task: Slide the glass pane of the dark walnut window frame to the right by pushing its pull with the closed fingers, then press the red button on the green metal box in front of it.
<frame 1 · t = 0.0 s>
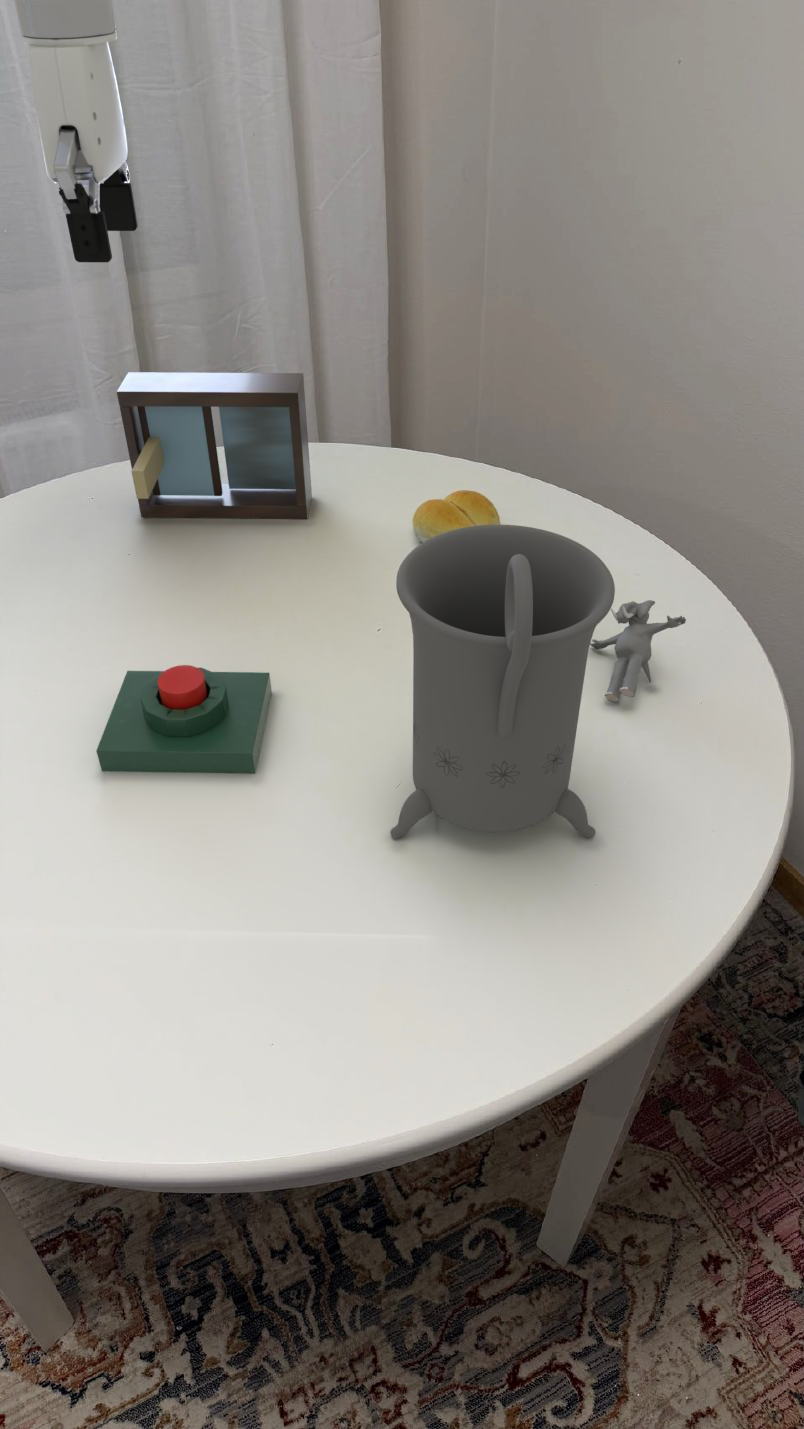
hand: (108, 245, 92), 27 cm above the table, tool pointing down, fingers open, 9 cm apart
mug: (489, 807, 75), on the table
button box: (190, 730, 82), on the table
window frame: (227, 507, 110), on the table
elephant figurine: (633, 677, 87), on the table
start button: (182, 687, 79), point 4 cm above the table, slide at 0.1 cm
bread roll: (456, 534, 106), on the table
window pane: (173, 466, 102), point 7 cm above the table, slide at 0.0 cm
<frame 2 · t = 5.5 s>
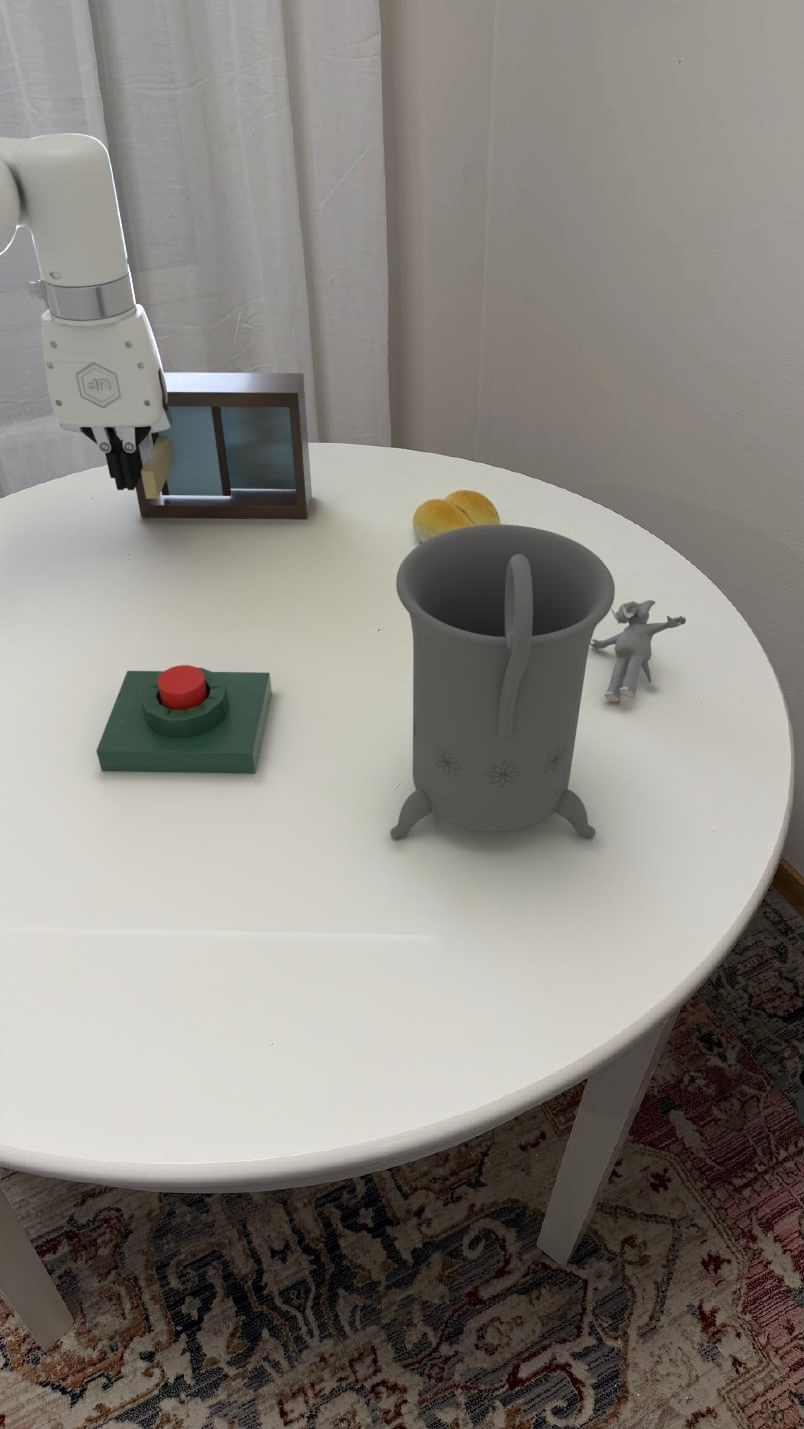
hand: (129, 483, 101), 6 cm above the table, tool pointing down, fingers closed
window pane: (182, 466, 102), point 7 cm above the table, slide at 0.9 cm, touching gripper
everything else where it was.
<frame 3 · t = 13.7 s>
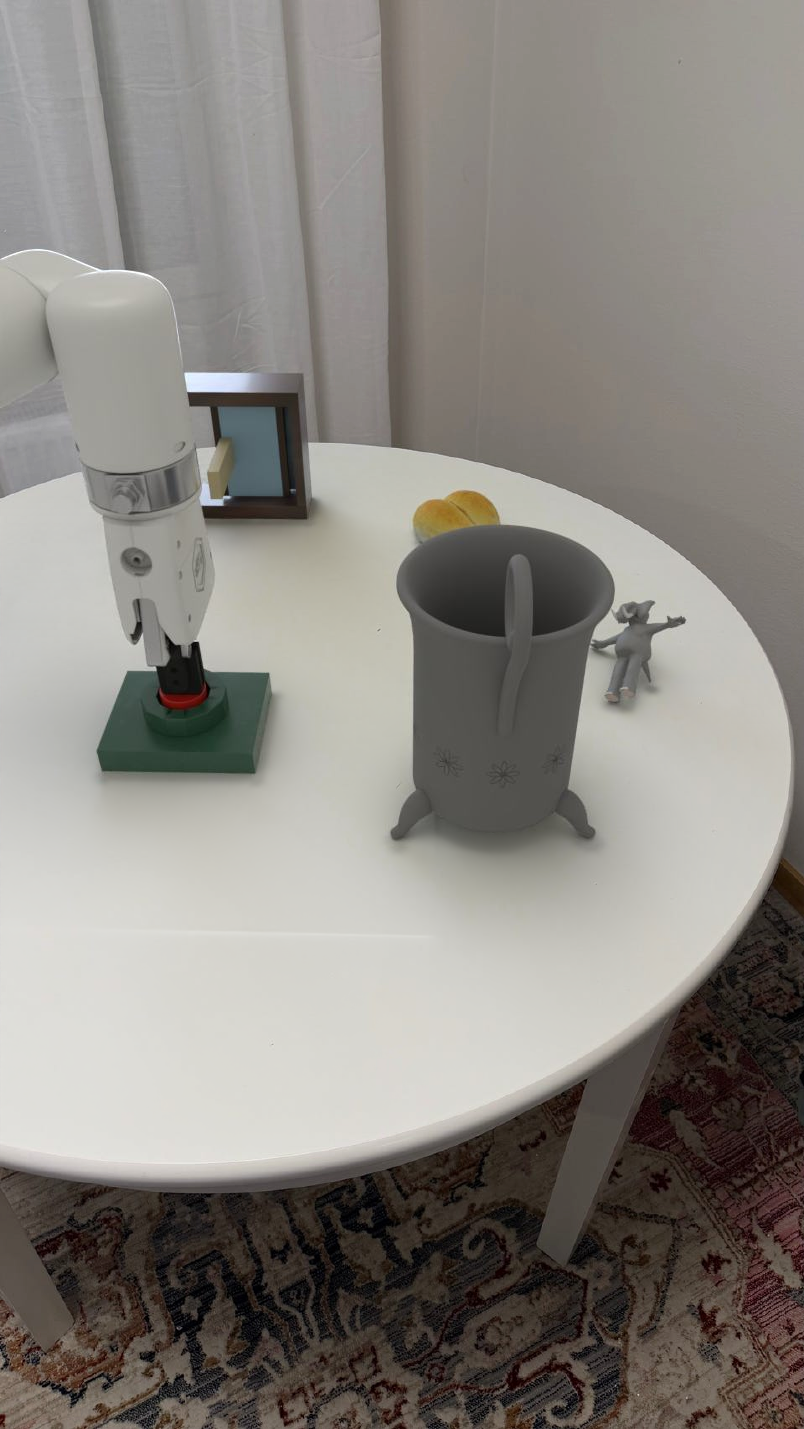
hand: (184, 688, 79), 4 cm above the table, tool pointing down, fingers closed
start button: (184, 696, 79), point 4 cm above the table, slide at -0.8 cm, touching gripper
window pane: (246, 466, 102), point 7 cm above the table, slide at 7.4 cm
everything else where it was.
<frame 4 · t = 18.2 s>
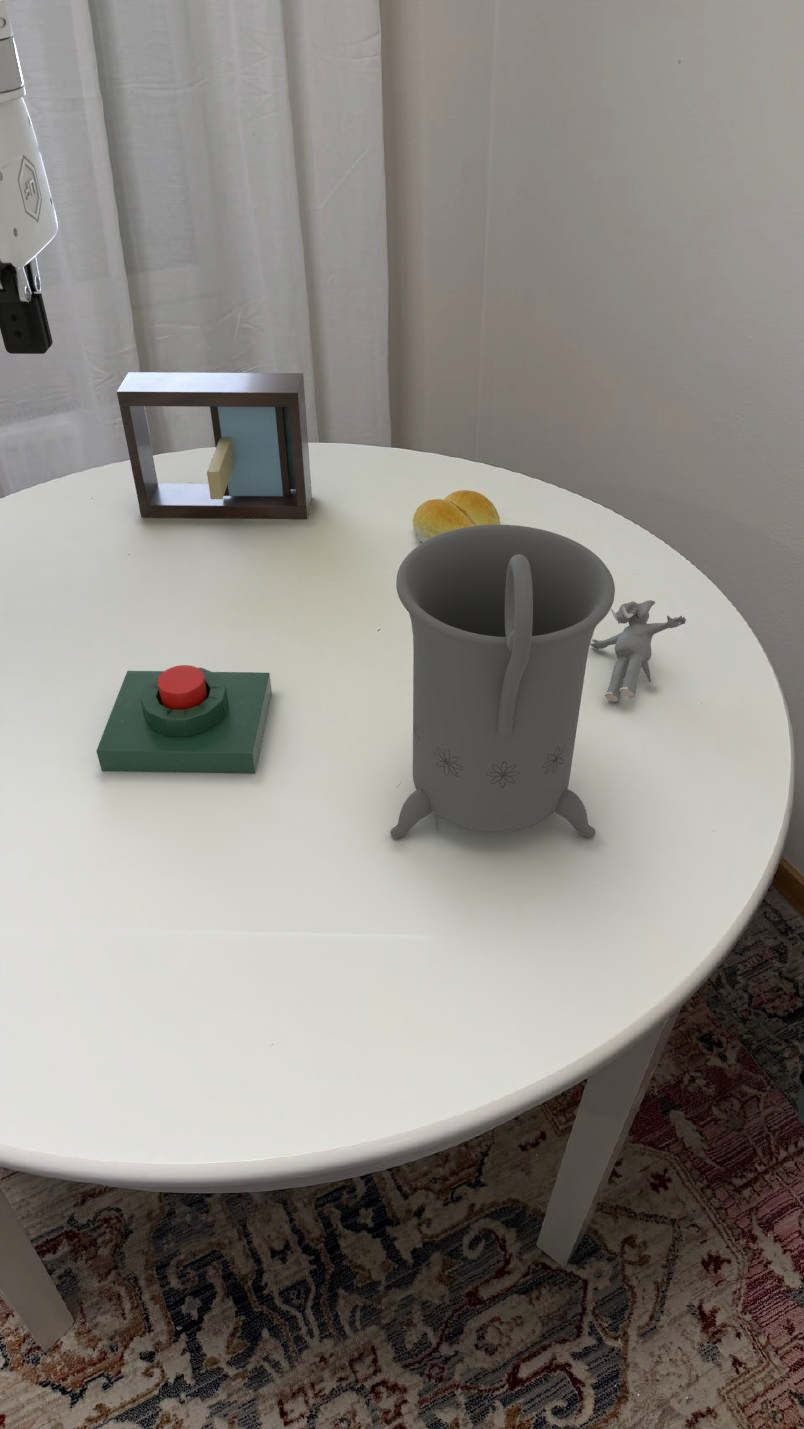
hand: (30, 349, 78), 25 cm above the table, tool pointing down, fingers closed
start button: (182, 687, 79), point 4 cm above the table, slide at 0.1 cm
everything else where it was.
at the end: window pane slide at 7.4 cm; start button pushed in 1.1 cm at the most during the clip, back to where it started at the end; start button slide at 0.1 cm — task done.
